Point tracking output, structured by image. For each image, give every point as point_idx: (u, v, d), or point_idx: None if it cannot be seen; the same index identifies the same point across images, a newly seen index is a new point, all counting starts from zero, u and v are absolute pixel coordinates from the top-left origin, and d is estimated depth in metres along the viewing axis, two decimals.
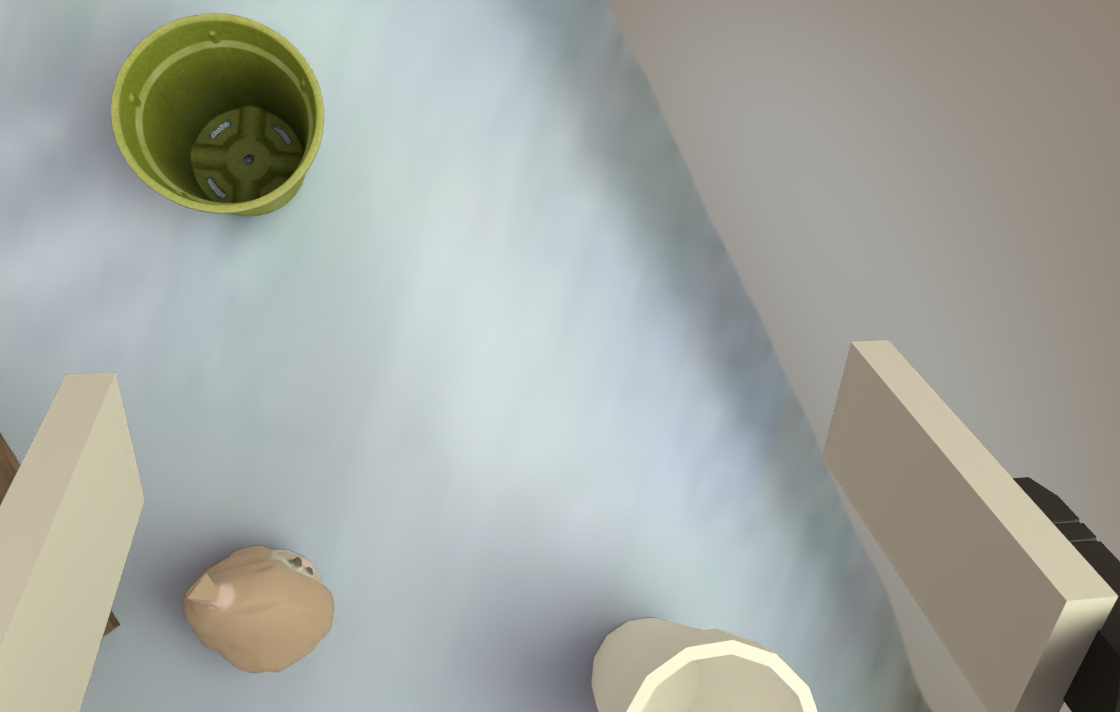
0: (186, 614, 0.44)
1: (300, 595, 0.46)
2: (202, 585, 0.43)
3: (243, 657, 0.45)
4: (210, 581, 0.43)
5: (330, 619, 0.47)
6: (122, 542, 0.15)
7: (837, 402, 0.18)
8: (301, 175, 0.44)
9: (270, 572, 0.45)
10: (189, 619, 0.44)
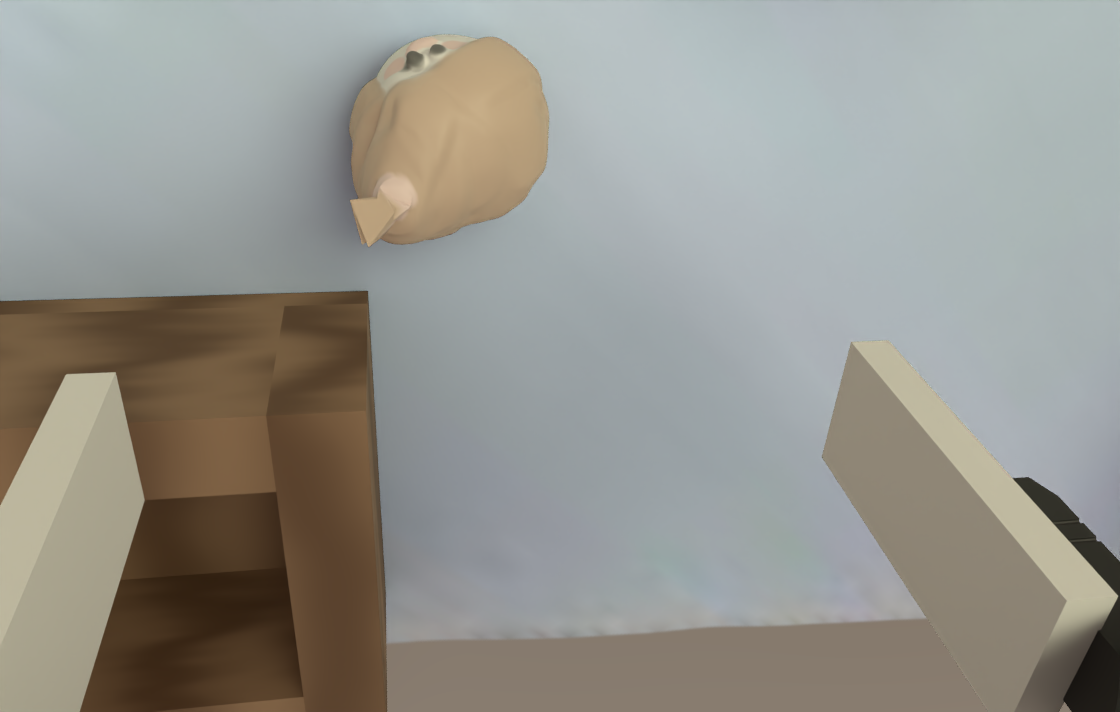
0: (394, 243, 0.29)
1: (463, 87, 0.27)
2: (363, 215, 0.27)
3: (497, 204, 0.30)
4: (365, 201, 0.27)
5: (524, 63, 0.29)
6: (122, 542, 0.15)
7: (838, 402, 0.18)
8: None
9: (404, 110, 0.27)
10: (403, 243, 0.29)
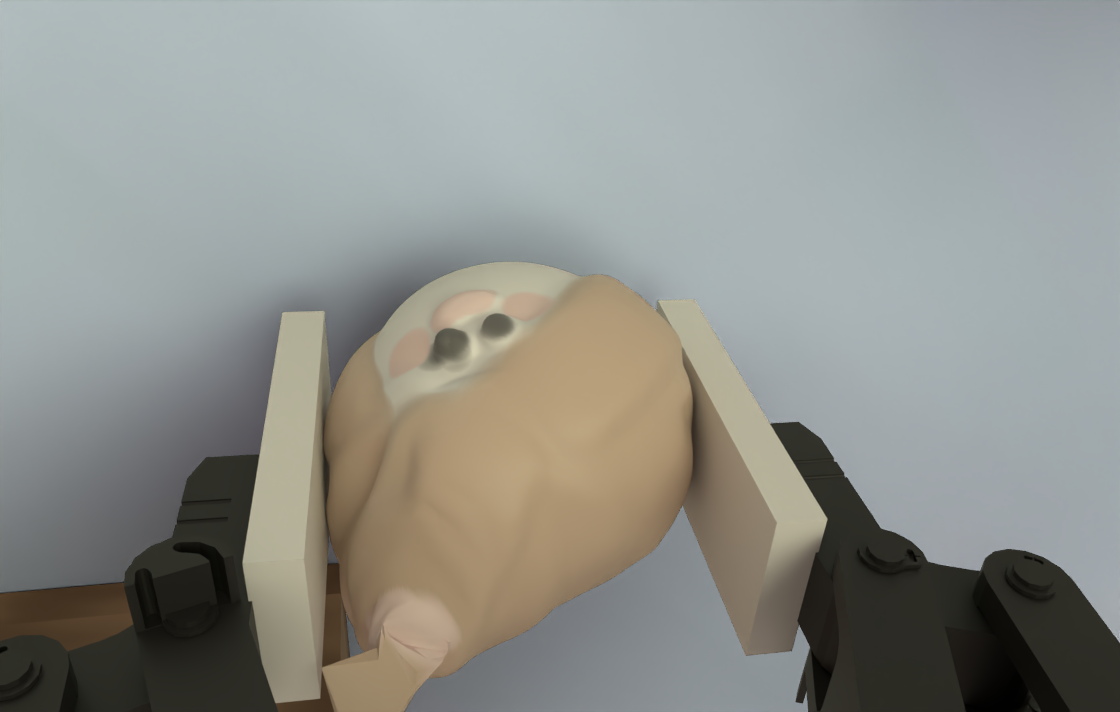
0: None
1: (553, 415, 0.13)
2: (351, 700, 0.13)
3: (601, 582, 0.16)
4: (353, 666, 0.13)
5: (662, 337, 0.15)
6: None
7: None
8: None
9: (433, 471, 0.13)
10: None
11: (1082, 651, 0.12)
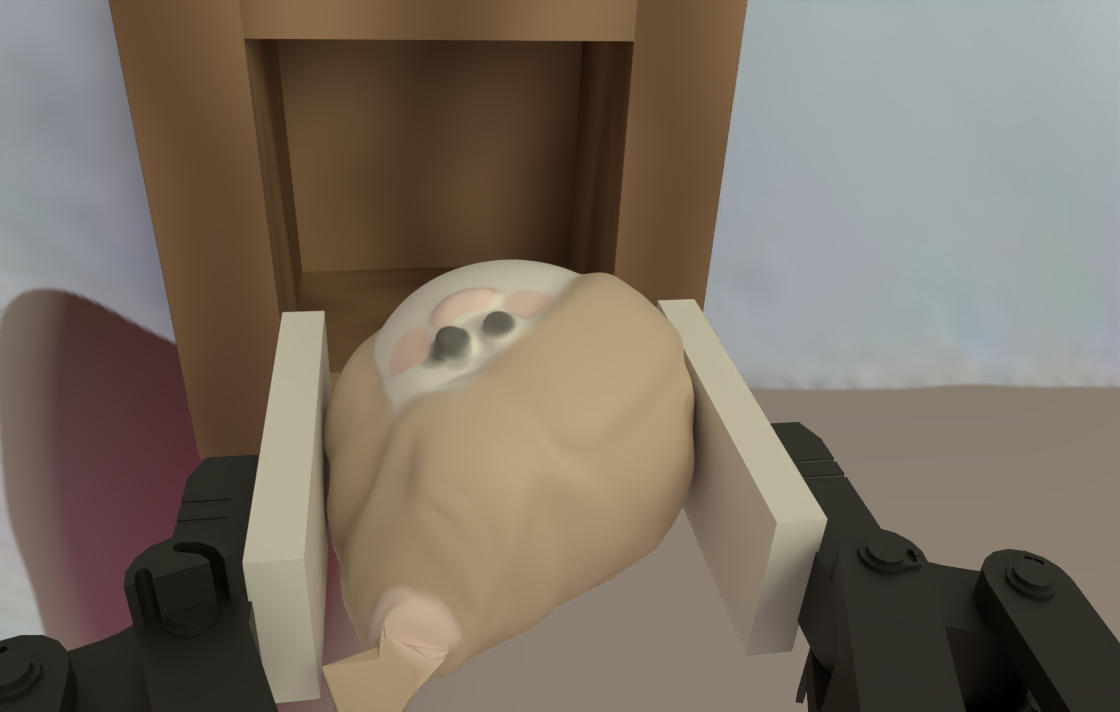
0: None
1: (554, 413, 0.13)
2: (351, 699, 0.13)
3: (602, 581, 0.16)
4: (353, 665, 0.13)
5: (663, 335, 0.15)
6: None
7: None
8: None
9: (433, 469, 0.13)
10: None
11: (1082, 650, 0.12)
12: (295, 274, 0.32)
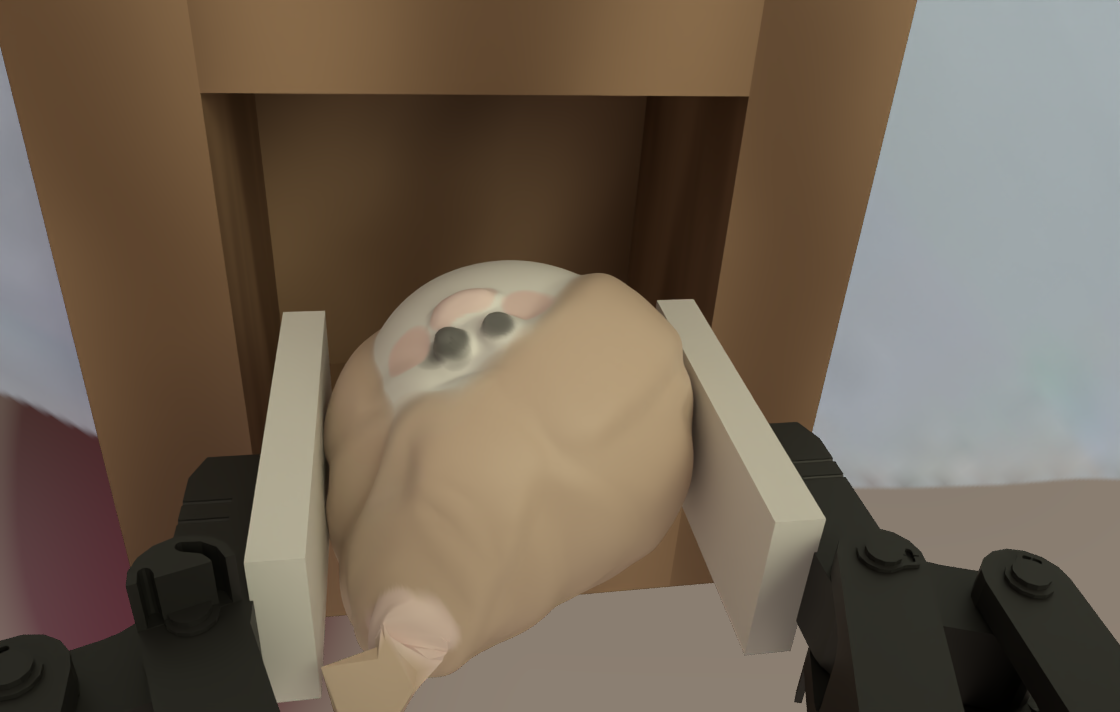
0: None
1: (553, 413, 0.13)
2: (350, 699, 0.13)
3: (601, 581, 0.16)
4: (352, 665, 0.13)
5: (662, 335, 0.15)
6: None
7: None
8: None
9: (433, 469, 0.13)
10: None
11: (1080, 651, 0.12)
12: None
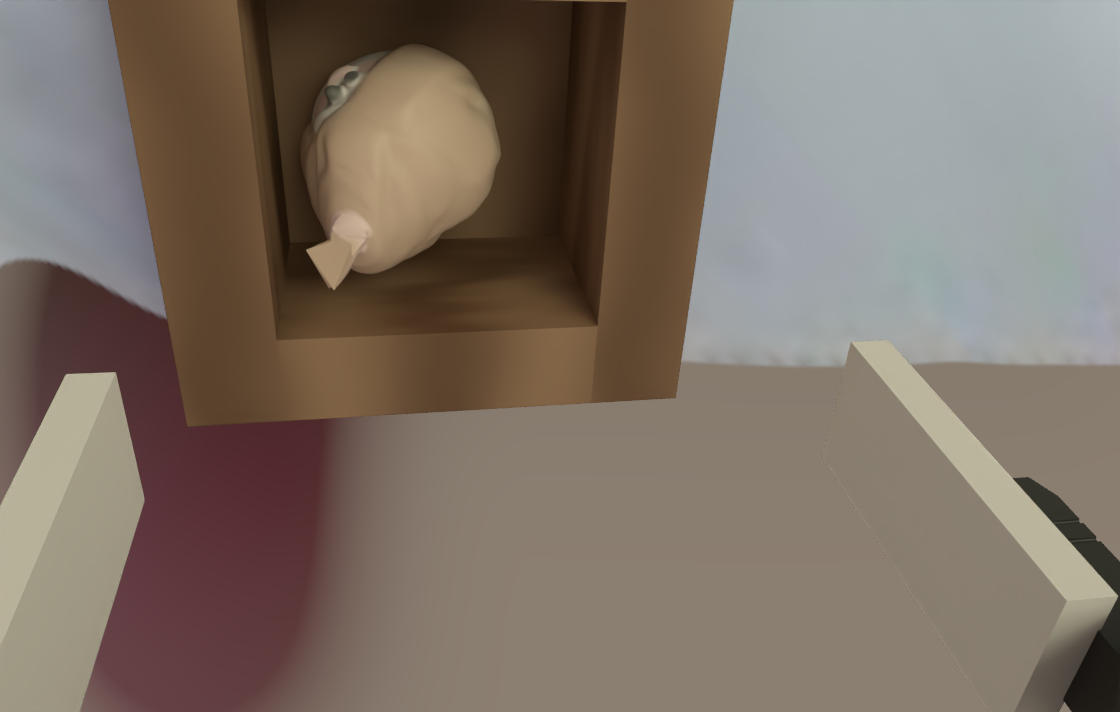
0: (372, 273, 0.30)
1: (381, 107, 0.27)
2: (322, 260, 0.27)
3: (459, 206, 0.29)
4: (320, 246, 0.27)
5: (440, 61, 0.28)
6: (122, 542, 0.15)
7: (838, 402, 0.18)
8: None
9: (331, 148, 0.27)
10: (380, 271, 0.30)
11: None
12: (283, 243, 0.32)
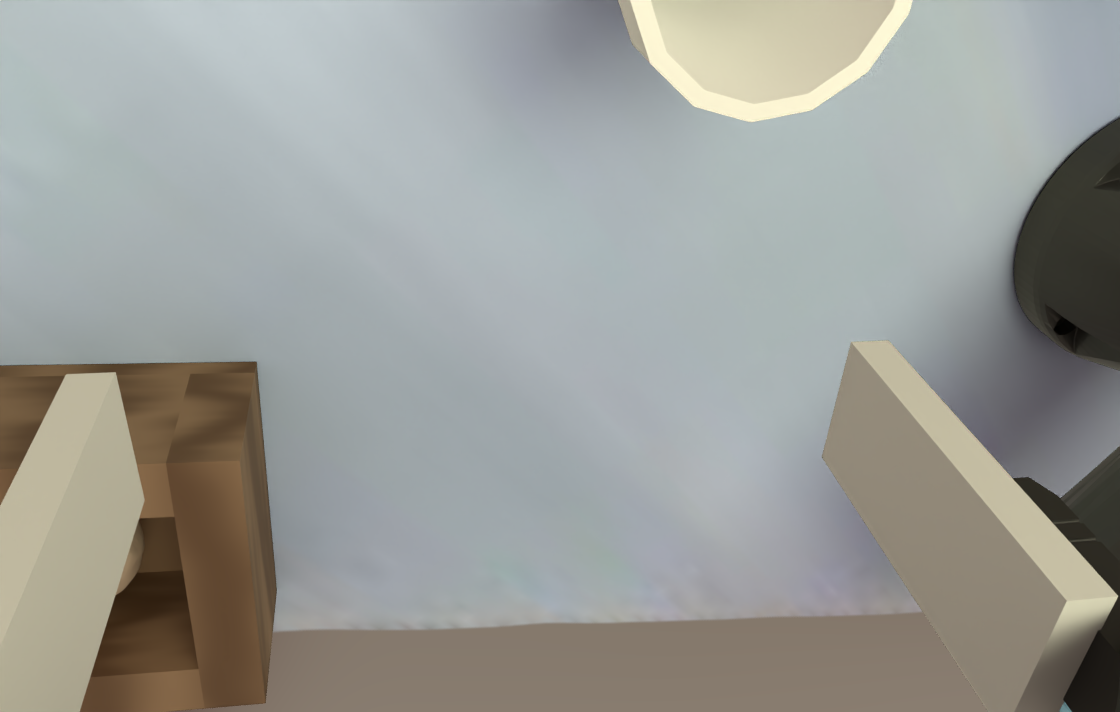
0: None
1: None
2: None
3: None
4: None
5: None
6: (122, 542, 0.15)
7: (837, 402, 0.18)
8: None
9: None
10: None
11: None
12: None
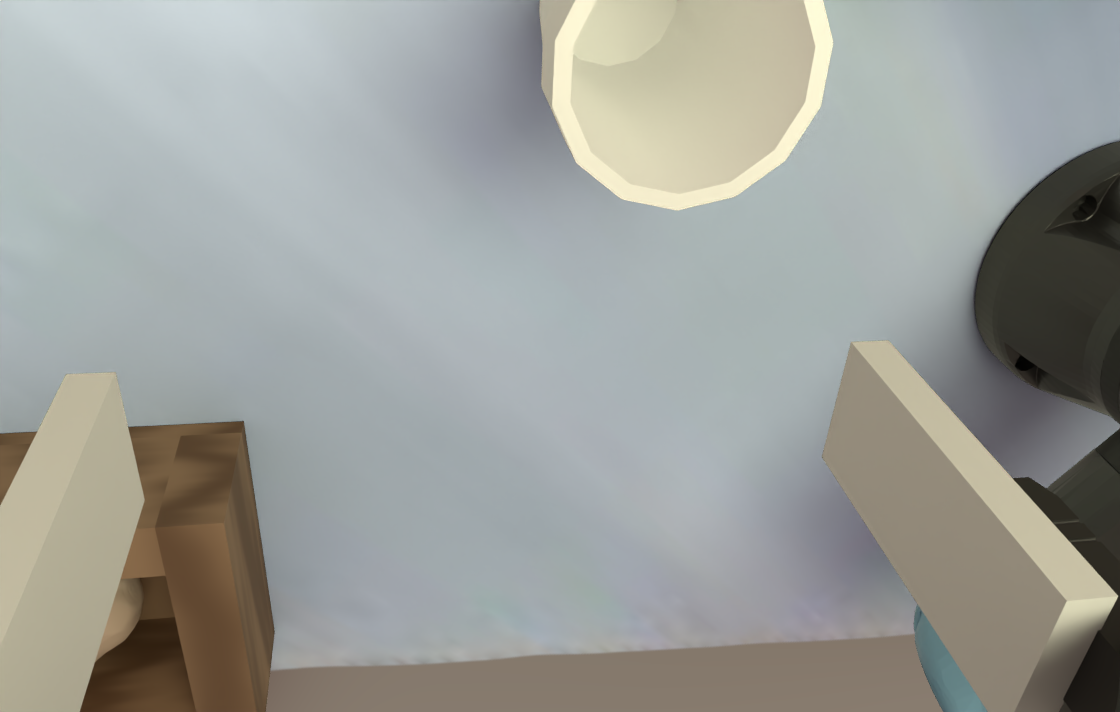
0: None
1: None
2: None
3: (109, 644, 0.49)
4: None
5: None
6: (122, 542, 0.15)
7: (837, 402, 0.18)
8: None
9: None
10: None
11: None
12: None
